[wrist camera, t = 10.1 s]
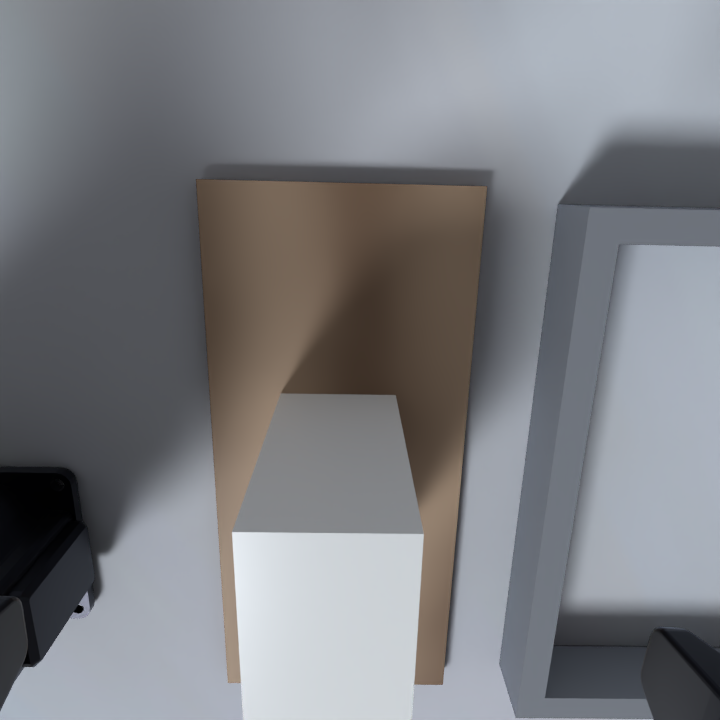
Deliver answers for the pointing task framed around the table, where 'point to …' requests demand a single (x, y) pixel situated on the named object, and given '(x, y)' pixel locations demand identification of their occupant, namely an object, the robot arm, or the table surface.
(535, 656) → the case
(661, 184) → the table surface
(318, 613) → the block
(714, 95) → the table surface
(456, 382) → the walnut board
